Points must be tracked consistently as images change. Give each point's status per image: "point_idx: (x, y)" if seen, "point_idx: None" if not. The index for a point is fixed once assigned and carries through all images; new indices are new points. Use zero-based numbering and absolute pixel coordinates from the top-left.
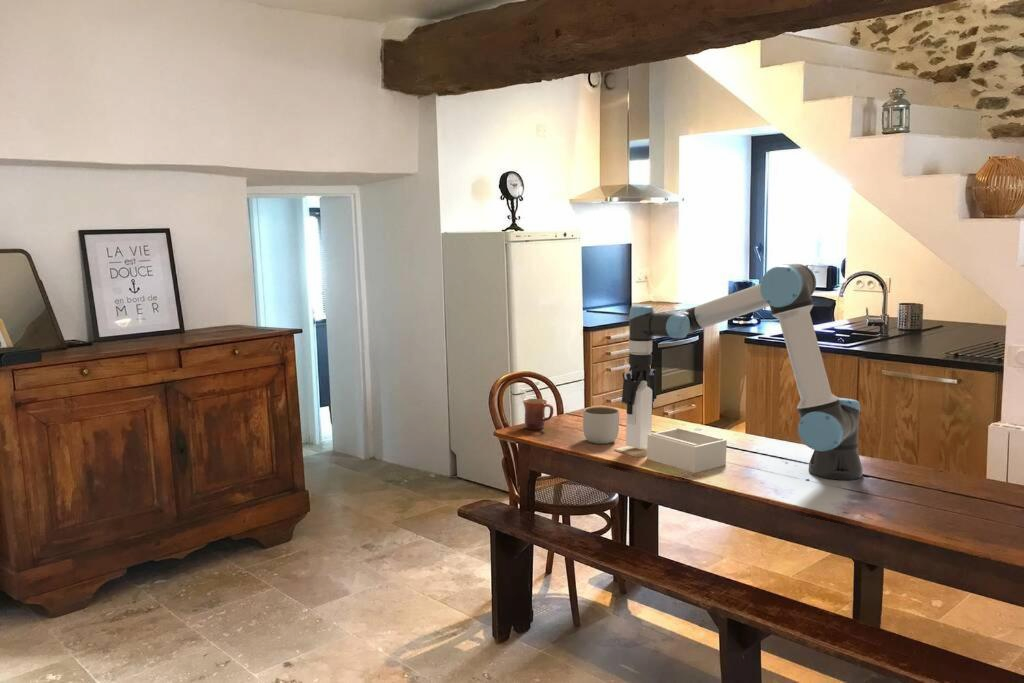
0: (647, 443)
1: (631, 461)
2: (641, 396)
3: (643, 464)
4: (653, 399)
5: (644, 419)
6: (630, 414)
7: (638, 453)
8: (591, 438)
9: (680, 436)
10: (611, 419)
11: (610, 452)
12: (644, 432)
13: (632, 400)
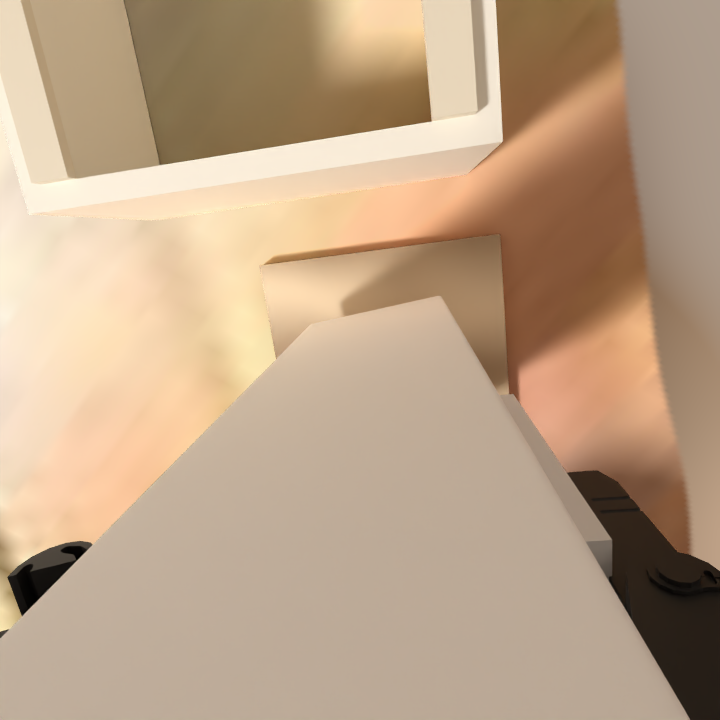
0: (484, 156)
1: (611, 173)
2: (574, 579)
3: (596, 55)
4: (21, 593)
5: (387, 362)
6: (590, 471)
7: (457, 282)
8: None
9: (87, 168)
10: None
11: (566, 431)
12: (386, 329)
13: (717, 633)
